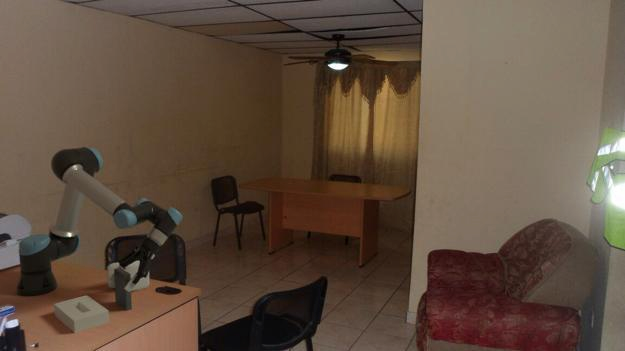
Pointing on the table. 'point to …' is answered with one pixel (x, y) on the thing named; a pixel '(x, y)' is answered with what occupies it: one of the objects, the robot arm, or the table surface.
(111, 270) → the cable organizer
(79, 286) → the table surface
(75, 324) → the slotted box
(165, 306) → the table surface
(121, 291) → the cover plate
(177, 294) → the table surface
